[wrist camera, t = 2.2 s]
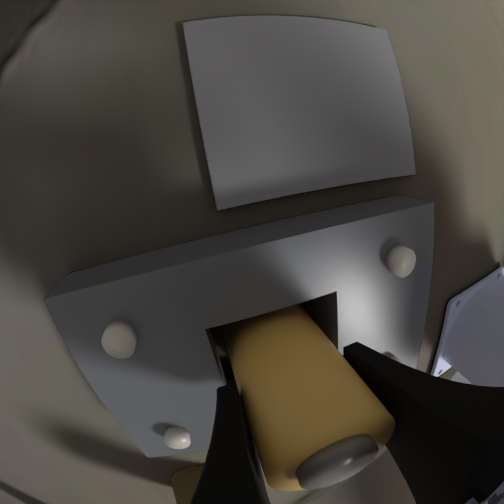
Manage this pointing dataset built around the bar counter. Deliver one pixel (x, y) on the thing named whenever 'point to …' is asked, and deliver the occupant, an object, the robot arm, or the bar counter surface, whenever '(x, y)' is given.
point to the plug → (303, 401)
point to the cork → (186, 483)
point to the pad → (296, 105)
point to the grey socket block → (241, 308)
